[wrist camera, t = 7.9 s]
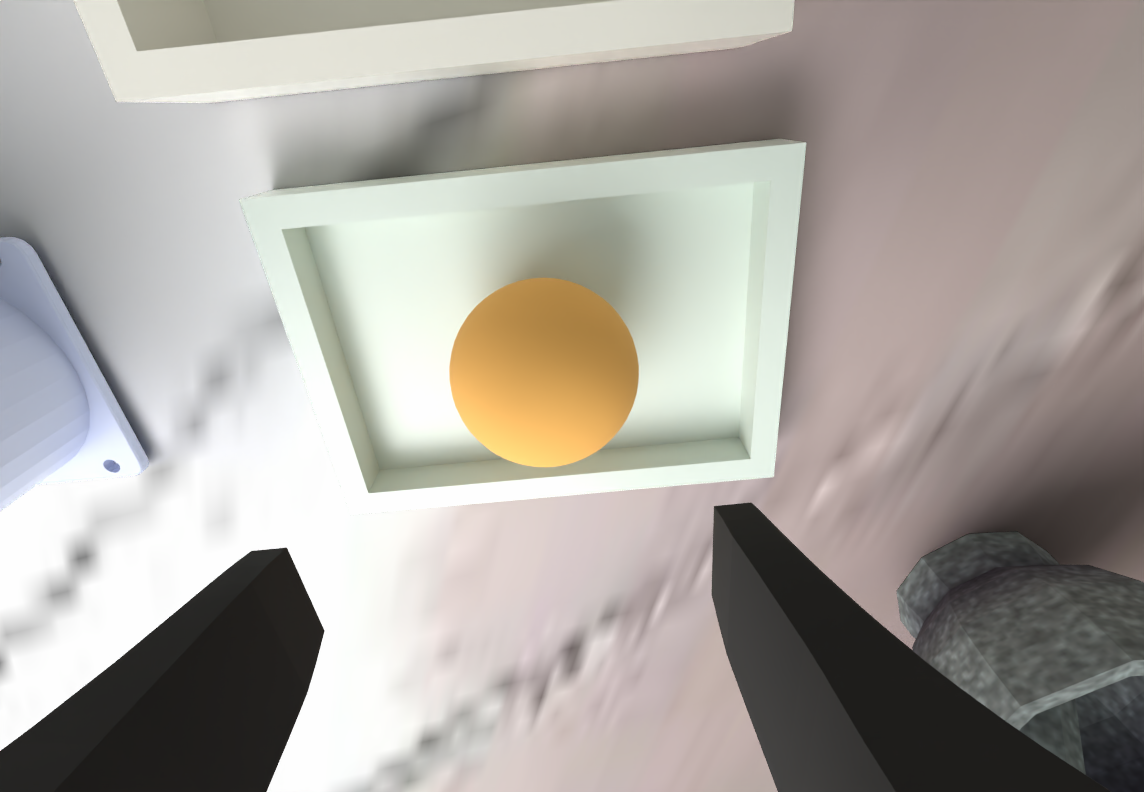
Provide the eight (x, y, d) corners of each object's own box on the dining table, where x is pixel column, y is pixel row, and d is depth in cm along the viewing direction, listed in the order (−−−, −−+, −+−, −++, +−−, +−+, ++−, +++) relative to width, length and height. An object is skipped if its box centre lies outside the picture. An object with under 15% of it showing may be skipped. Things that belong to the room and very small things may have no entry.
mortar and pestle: (1057, 452, 20) (1618, 839, 9) (1121, 593, 24) (1581, 989, 13) (784, 595, 23) (978, 1009, 13) (877, 701, 27) (1089, 1093, 16)
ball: (478, 419, 18) (461, 519, 14) (444, 269, 16) (410, 331, 11) (629, 399, 18) (660, 492, 14) (617, 246, 16) (650, 300, 11)
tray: (367, 482, 20) (350, 514, 18) (271, 189, 15) (238, 199, 14) (755, 446, 20) (773, 476, 18) (779, 138, 15) (806, 142, 13)
